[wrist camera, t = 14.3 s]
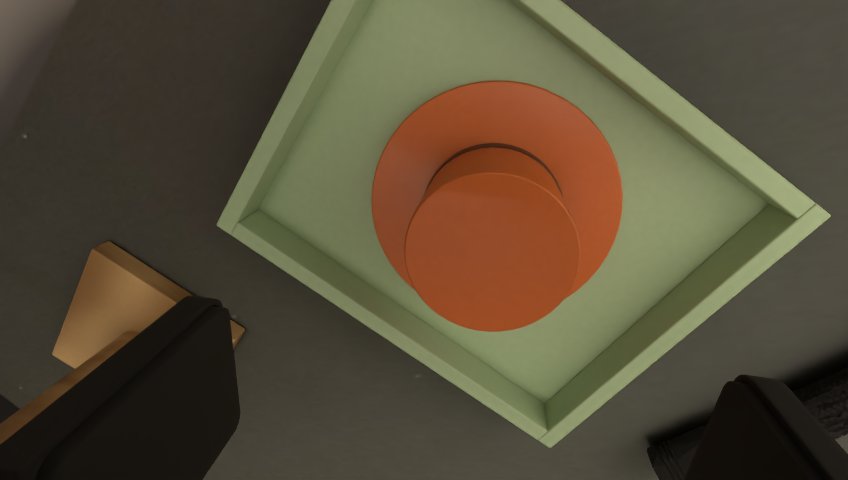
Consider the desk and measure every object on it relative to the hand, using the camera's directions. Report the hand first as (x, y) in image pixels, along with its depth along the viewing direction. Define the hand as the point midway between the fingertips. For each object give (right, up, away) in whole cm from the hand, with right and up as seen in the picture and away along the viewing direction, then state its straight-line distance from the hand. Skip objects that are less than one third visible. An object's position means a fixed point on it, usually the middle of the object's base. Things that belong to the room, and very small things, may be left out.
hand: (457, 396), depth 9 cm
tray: (+2, +5, +12) cm, 14 cm away
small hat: (+2, +4, +12) cm, 13 cm away
